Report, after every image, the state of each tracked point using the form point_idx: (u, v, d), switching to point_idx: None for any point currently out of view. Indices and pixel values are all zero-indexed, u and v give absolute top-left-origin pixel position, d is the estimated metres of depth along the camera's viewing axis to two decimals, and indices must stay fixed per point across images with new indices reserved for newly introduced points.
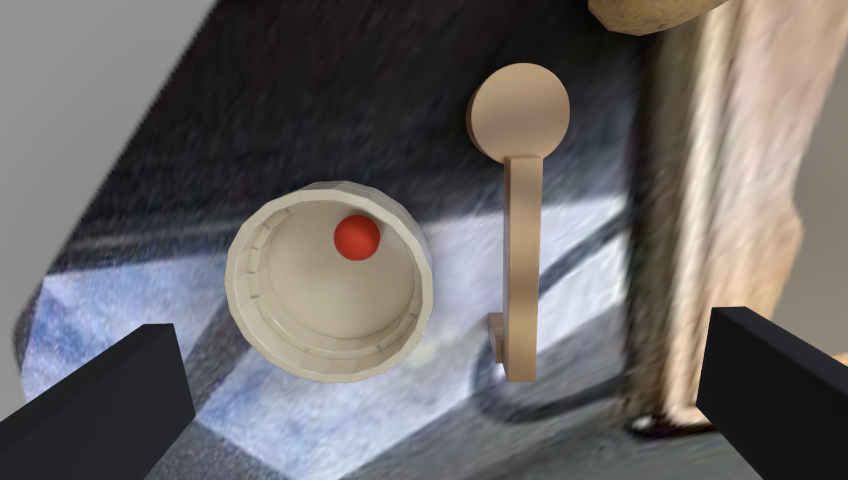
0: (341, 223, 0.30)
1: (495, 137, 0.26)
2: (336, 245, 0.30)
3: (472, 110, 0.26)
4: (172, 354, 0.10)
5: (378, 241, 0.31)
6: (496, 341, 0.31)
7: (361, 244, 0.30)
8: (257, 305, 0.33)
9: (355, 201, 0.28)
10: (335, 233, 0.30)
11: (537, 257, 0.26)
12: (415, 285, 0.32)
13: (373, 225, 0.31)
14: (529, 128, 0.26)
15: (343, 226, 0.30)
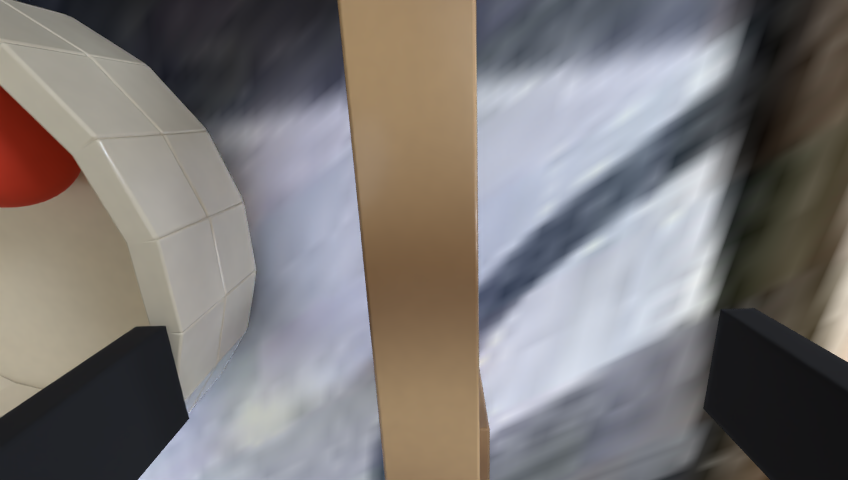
0: None
1: None
2: None
3: None
4: (164, 356, 0.10)
5: (49, 151, 0.11)
6: None
7: None
8: None
9: None
10: None
11: (468, 157, 0.06)
12: None
13: None
14: None
15: None
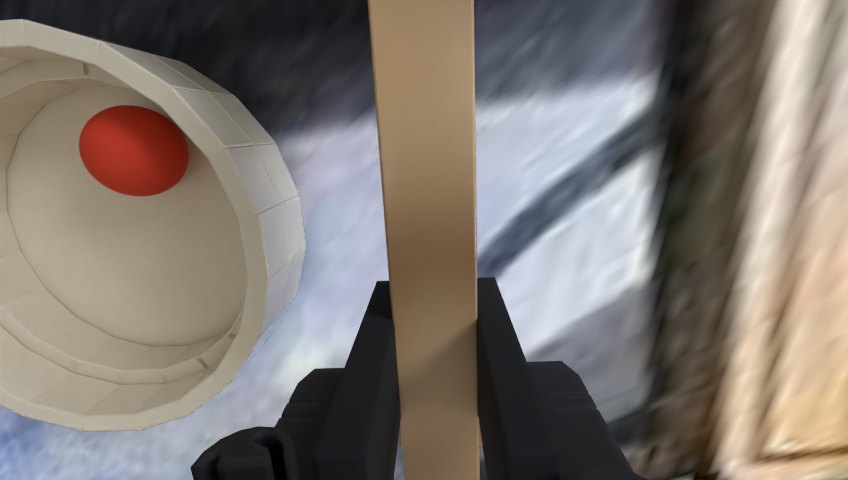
0: (92, 117, 0.15)
1: None
2: None
3: None
4: None
5: (173, 156, 0.16)
6: None
7: (122, 155, 0.15)
8: None
9: (74, 47, 0.13)
10: None
11: (468, 162, 0.08)
12: None
13: (161, 123, 0.16)
14: None
15: (89, 121, 0.15)
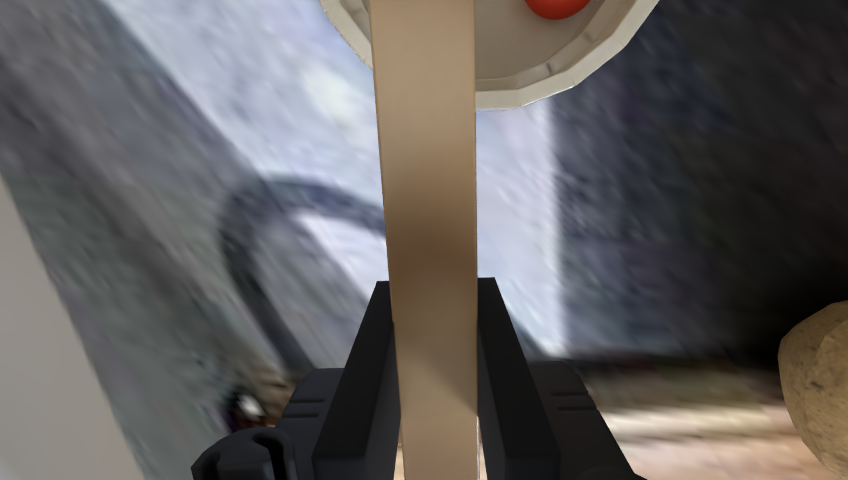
0: None
1: None
2: None
3: None
4: None
5: (556, 15, 0.18)
6: None
7: None
8: None
9: None
10: None
11: (468, 154, 0.08)
12: (475, 81, 0.19)
13: (583, 6, 0.18)
14: None
15: None
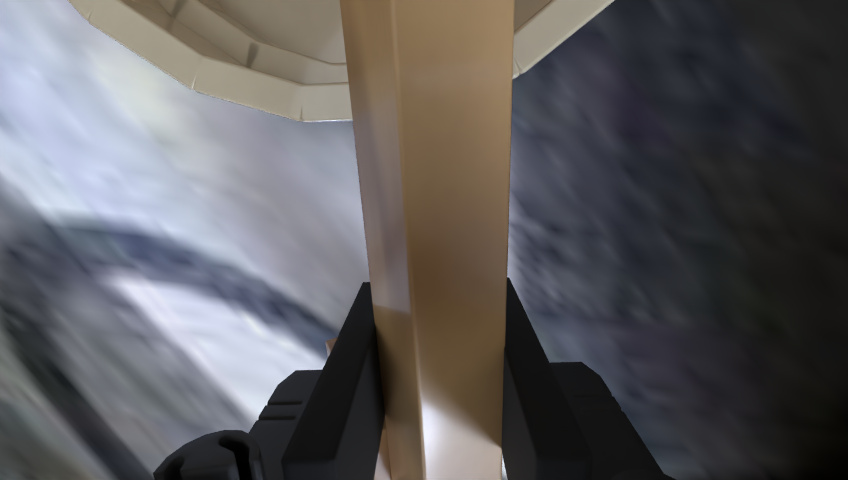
0: None
1: None
2: None
3: None
4: None
5: None
6: None
7: None
8: None
9: None
10: None
11: (505, 133, 0.06)
12: None
13: None
14: None
15: None
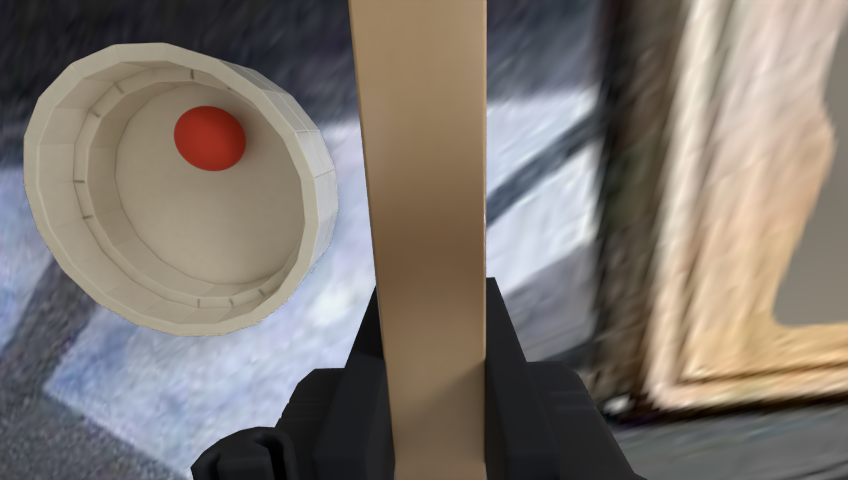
0: None
1: None
2: None
3: None
4: None
5: (228, 148, 0.22)
6: None
7: (193, 146, 0.21)
8: (92, 229, 0.24)
9: (197, 62, 0.19)
10: None
11: (477, 131, 0.06)
12: None
13: (221, 123, 0.21)
14: None
15: (179, 118, 0.21)
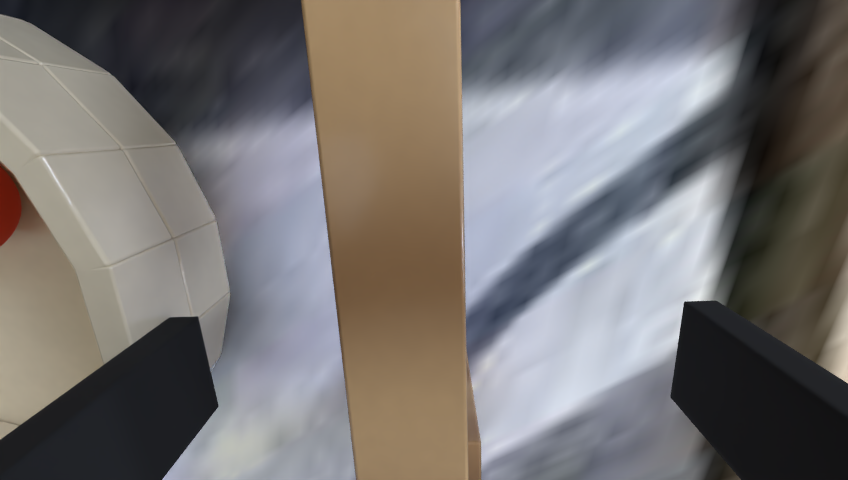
0: None
1: None
2: None
3: None
4: (197, 346, 0.10)
5: None
6: None
7: None
8: None
9: None
10: None
11: (451, 117, 0.05)
12: None
13: None
14: None
15: None
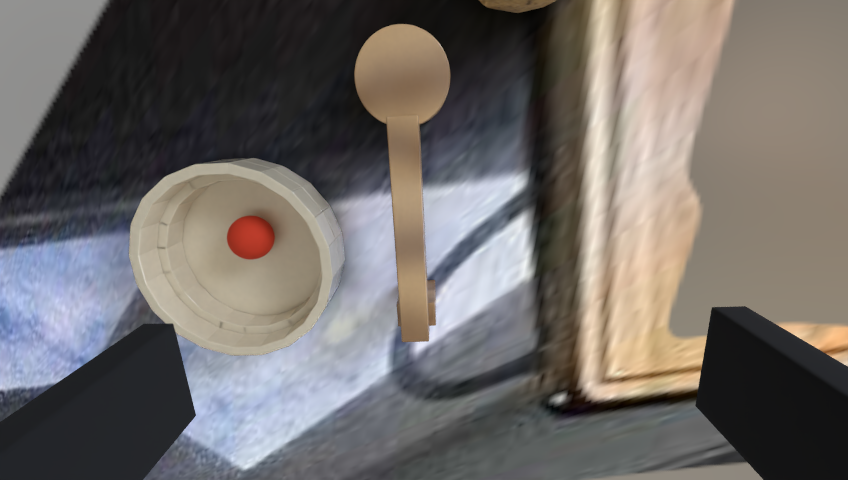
0: (227, 234, 0.32)
1: (379, 98, 0.27)
2: None
3: (355, 71, 0.27)
4: (172, 354, 0.10)
5: (265, 253, 0.32)
6: (397, 304, 0.31)
7: None
8: (169, 280, 0.33)
9: (249, 175, 0.29)
10: None
11: (420, 215, 0.27)
12: None
13: (254, 248, 0.31)
14: (412, 89, 0.27)
15: (227, 241, 0.32)
